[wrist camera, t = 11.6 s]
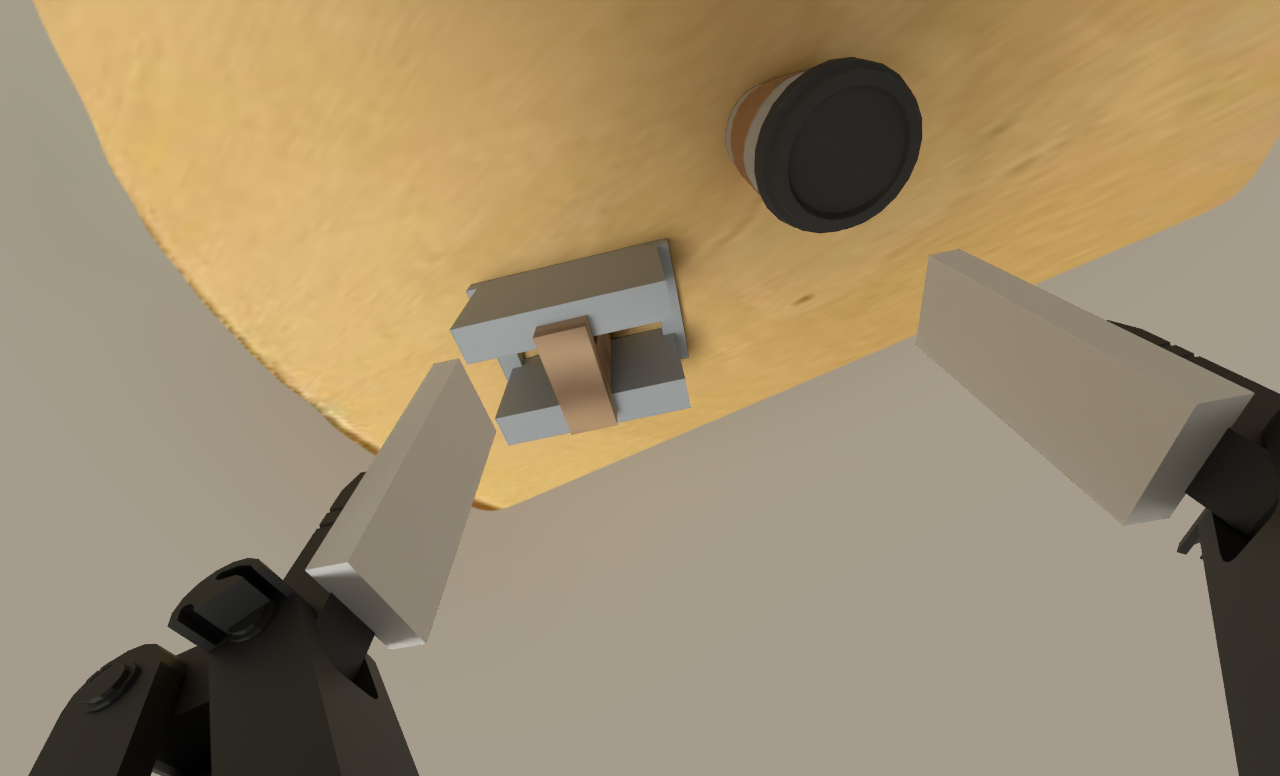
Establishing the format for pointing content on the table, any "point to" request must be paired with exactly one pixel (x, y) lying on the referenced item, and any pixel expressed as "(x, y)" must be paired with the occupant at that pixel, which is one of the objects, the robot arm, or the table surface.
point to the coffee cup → (827, 142)
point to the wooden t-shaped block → (578, 372)
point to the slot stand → (612, 301)
